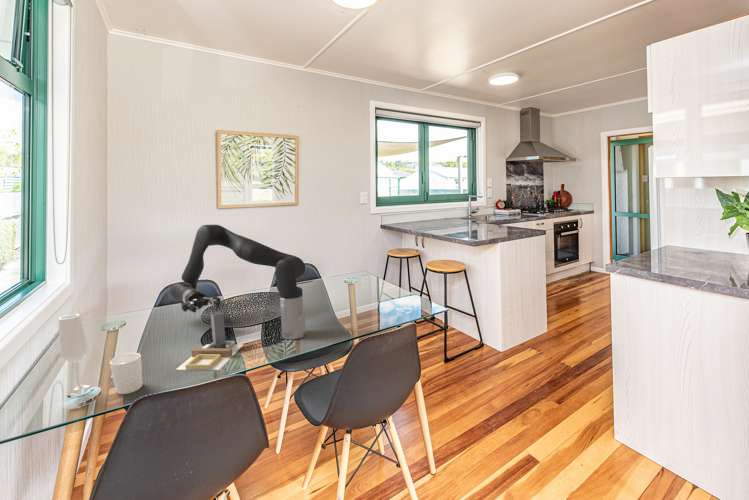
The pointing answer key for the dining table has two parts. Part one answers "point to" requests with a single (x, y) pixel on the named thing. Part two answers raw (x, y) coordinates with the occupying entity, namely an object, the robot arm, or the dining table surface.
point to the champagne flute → (73, 343)
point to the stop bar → (218, 330)
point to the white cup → (127, 372)
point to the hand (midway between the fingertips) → (206, 307)
